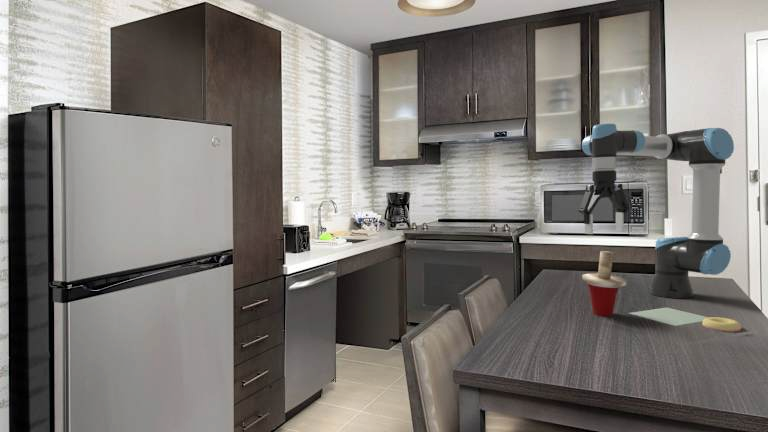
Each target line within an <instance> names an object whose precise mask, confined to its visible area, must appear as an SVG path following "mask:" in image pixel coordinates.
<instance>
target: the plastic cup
mask: <svg viewBox="0 0 768 432" xmlns="http://www.w3.org/2000/svg"><path fill="white" fill-rule="evenodd" d="M586 283H587V286H588V287H587V288H588V291H589V296H590V303H591V306H592V312H593V314H594V315H595V316H600V317H609V316H610V317H611V316H613V312H614V308H615V305H616V304H615V303H616V299H617V293H618V291H619V288H620V287H611V286H602V285H596V284H591V283H588V282H586Z"/></svg>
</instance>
